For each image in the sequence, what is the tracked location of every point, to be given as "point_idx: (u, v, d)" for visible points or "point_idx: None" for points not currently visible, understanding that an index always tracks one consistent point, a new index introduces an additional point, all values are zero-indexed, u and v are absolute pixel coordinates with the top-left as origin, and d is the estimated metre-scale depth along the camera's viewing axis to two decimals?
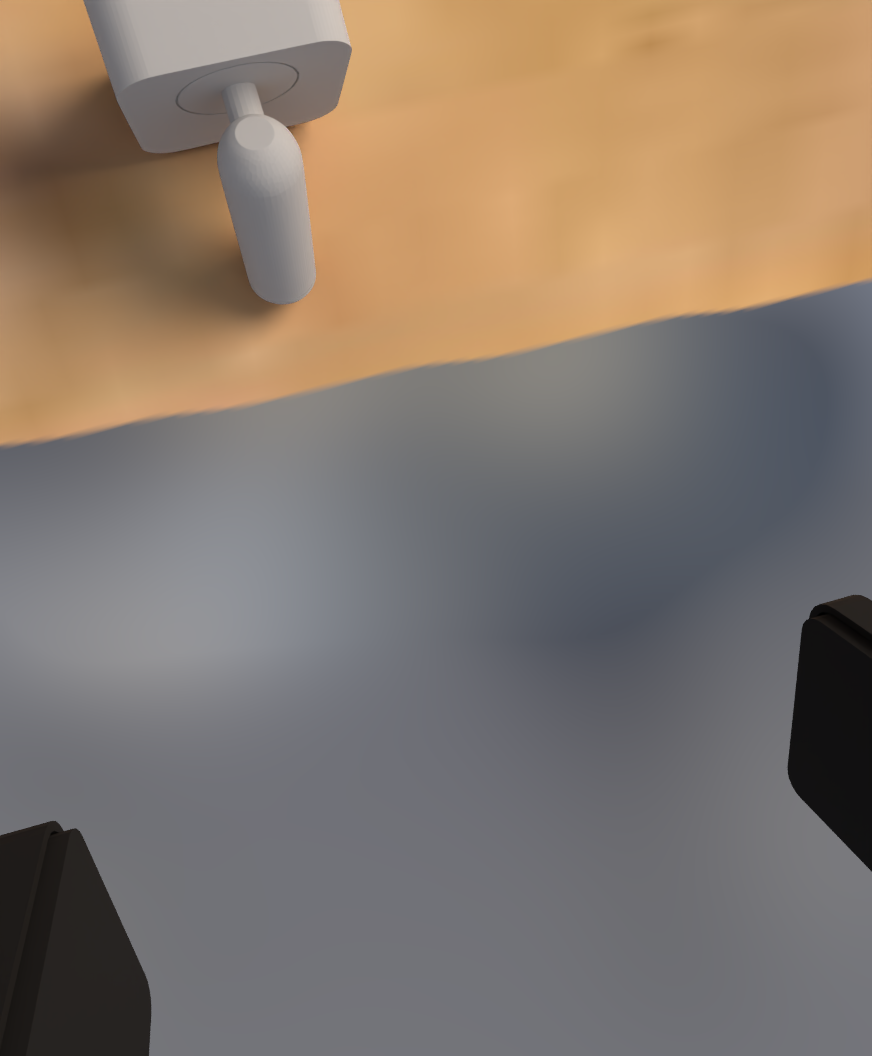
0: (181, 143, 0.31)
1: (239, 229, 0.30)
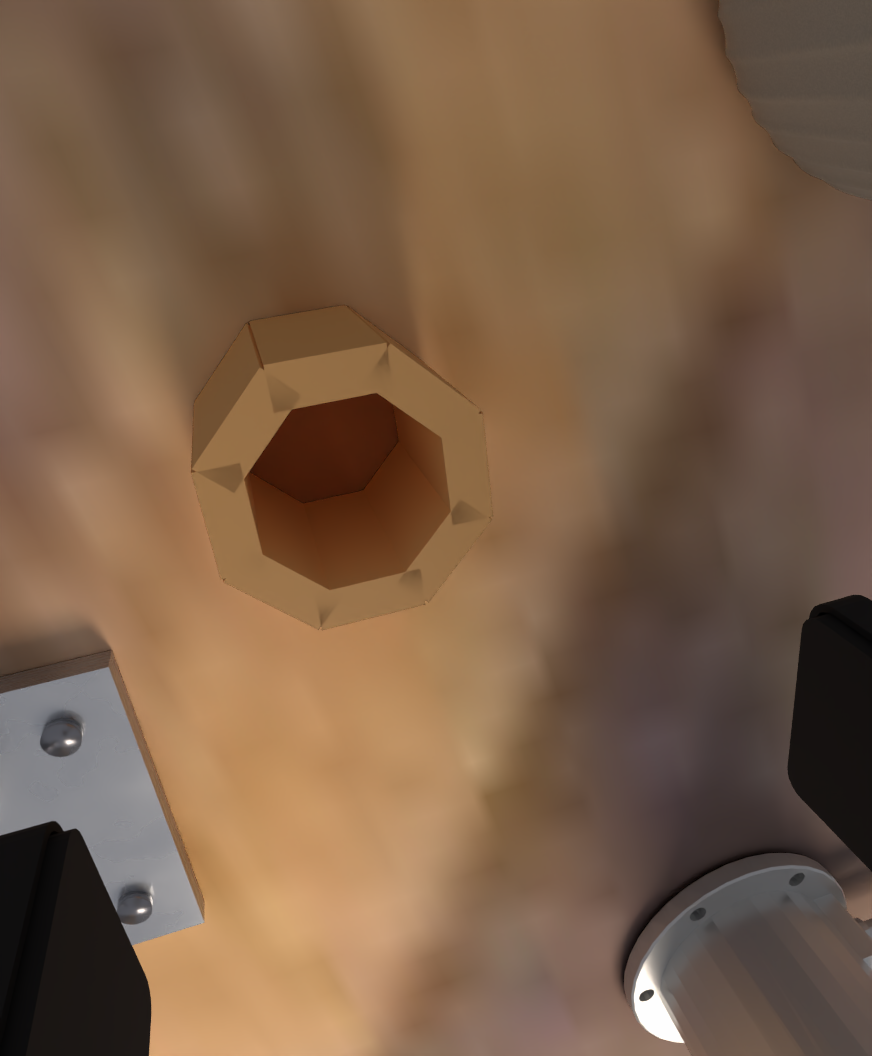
0: None
1: None
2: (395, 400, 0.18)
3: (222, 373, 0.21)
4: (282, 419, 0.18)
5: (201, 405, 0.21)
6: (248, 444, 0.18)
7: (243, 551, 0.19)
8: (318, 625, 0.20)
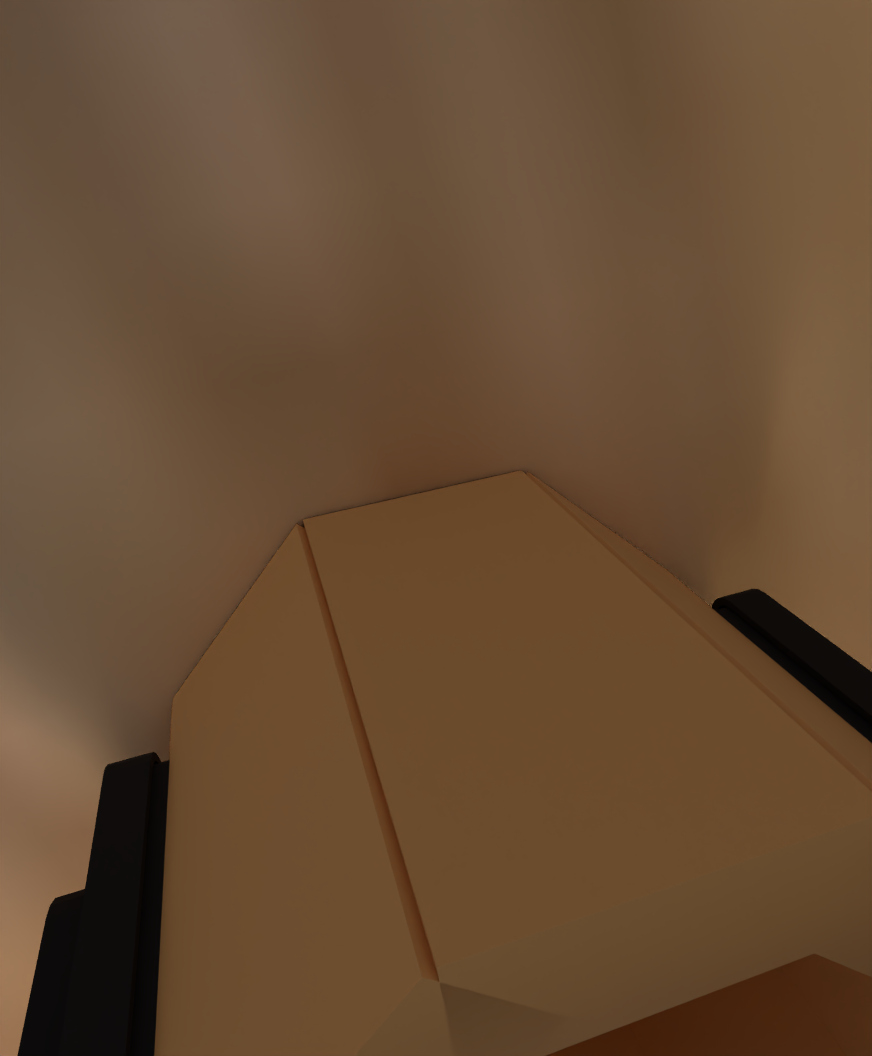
0: None
1: None
2: (863, 957, 0.05)
3: (242, 687, 0.08)
4: None
5: (188, 762, 0.08)
6: None
7: None
8: None
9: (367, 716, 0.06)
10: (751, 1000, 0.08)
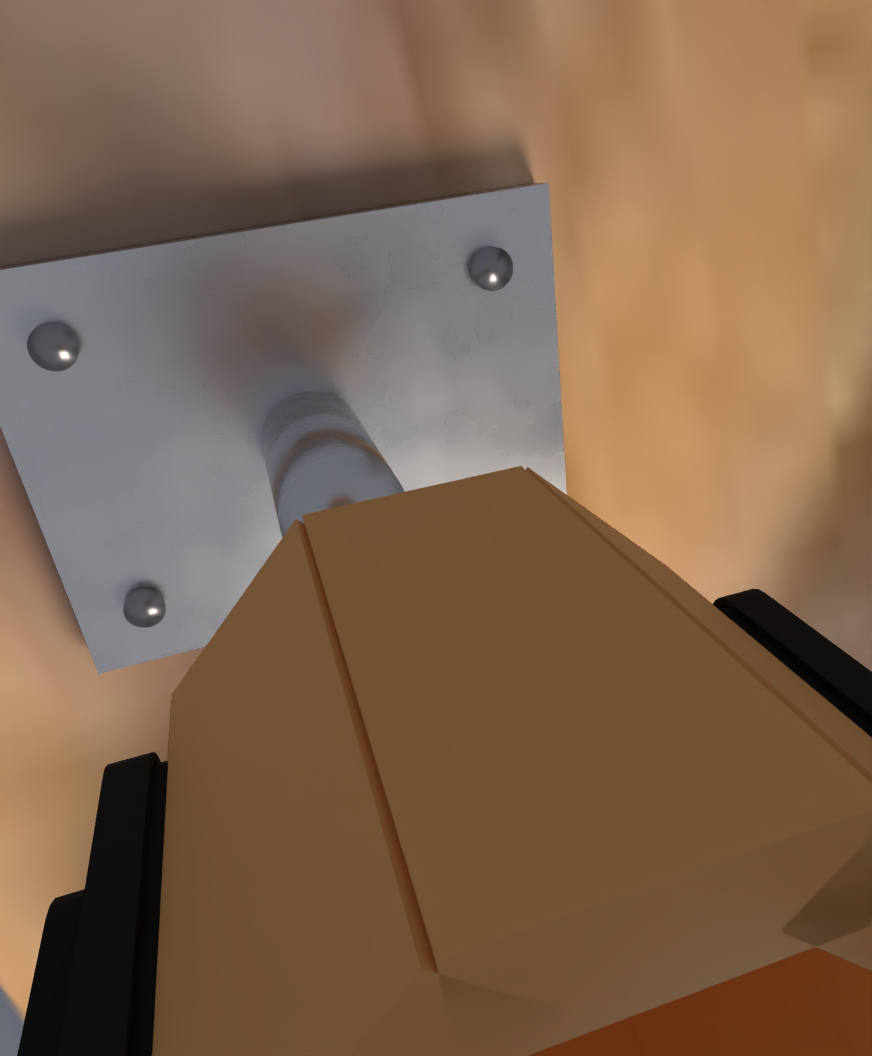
0: None
1: None
2: (864, 951, 0.05)
3: (241, 682, 0.08)
4: None
5: (187, 757, 0.08)
6: None
7: None
8: None
9: (366, 710, 0.06)
10: (751, 996, 0.08)
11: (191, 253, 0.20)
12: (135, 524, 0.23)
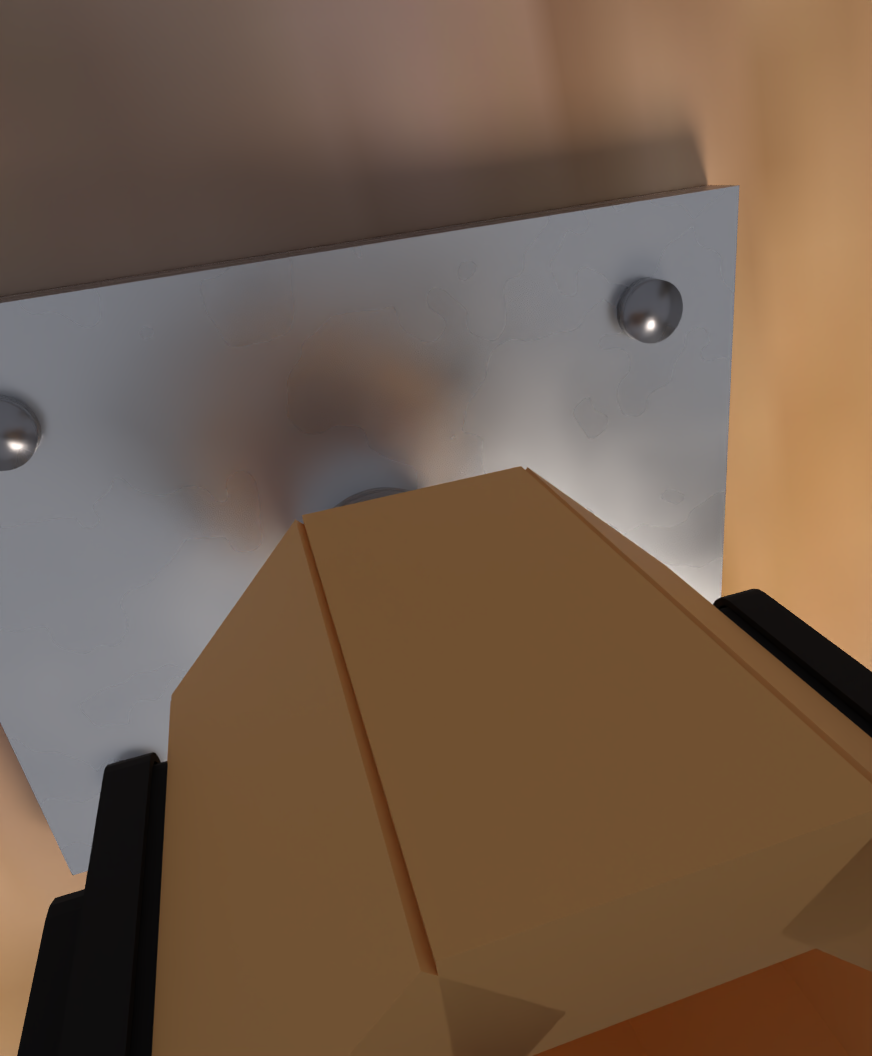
0: None
1: None
2: (865, 953, 0.05)
3: (241, 683, 0.08)
4: None
5: (186, 758, 0.08)
6: None
7: None
8: None
9: (366, 711, 0.06)
10: (752, 997, 0.08)
11: (212, 290, 0.13)
12: (125, 678, 0.16)
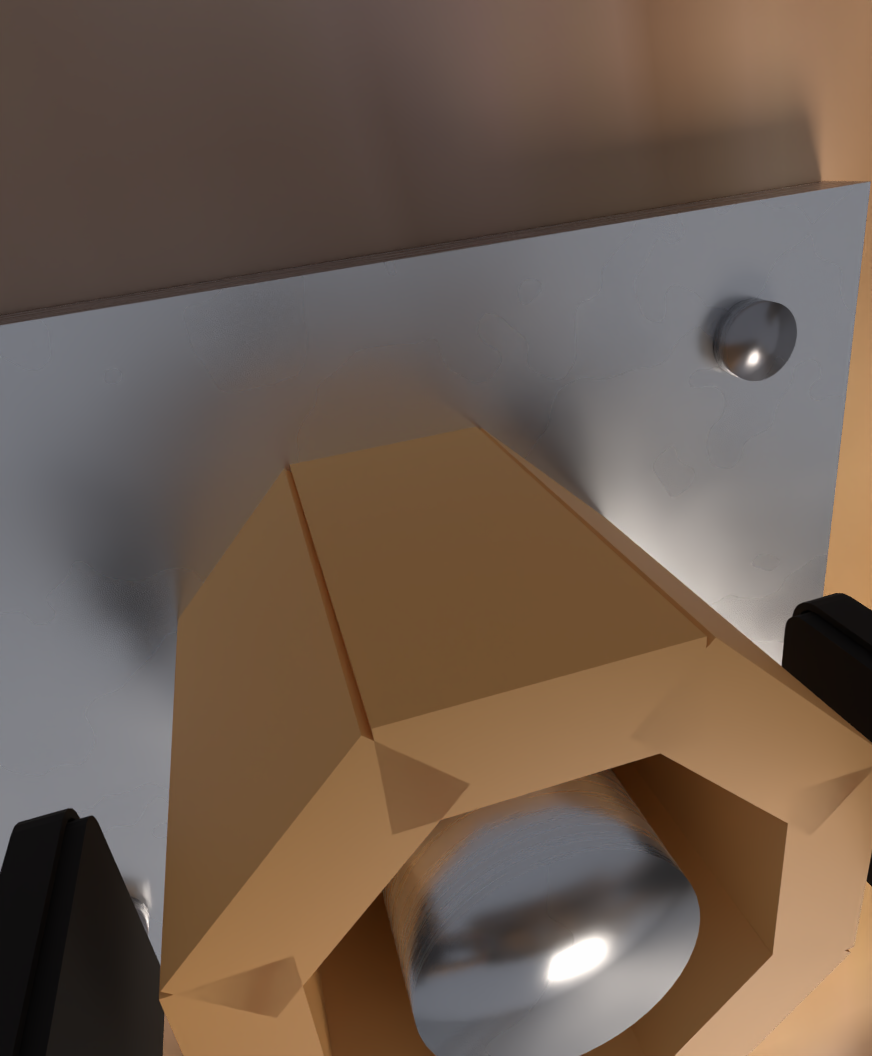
0: None
1: None
2: (701, 762, 0.07)
3: (237, 595, 0.10)
4: (413, 843, 0.06)
5: (192, 659, 0.10)
6: (319, 913, 0.06)
7: None
8: None
9: (334, 593, 0.08)
10: None
11: (199, 319, 0.10)
12: (92, 802, 0.12)
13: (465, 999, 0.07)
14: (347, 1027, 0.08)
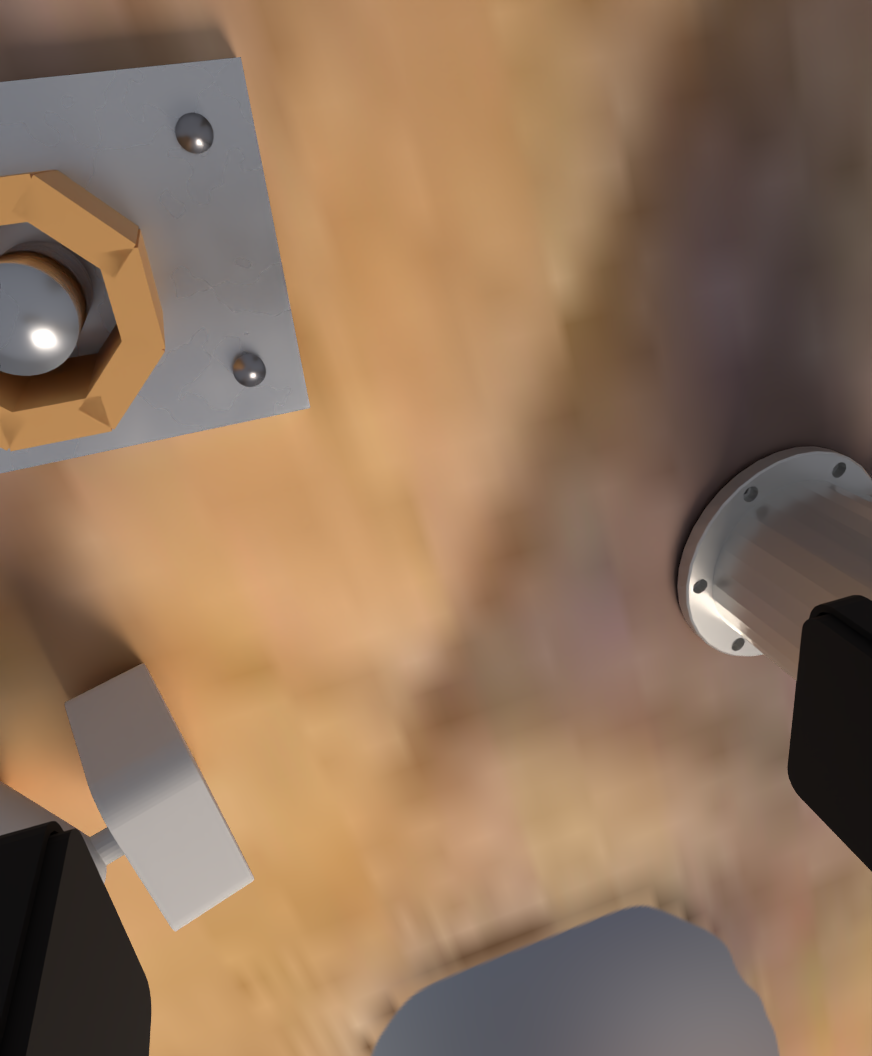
0: None
1: None
2: (47, 230, 0.20)
3: None
4: None
5: None
6: None
7: None
8: (6, 446, 0.22)
9: None
10: (115, 342, 0.24)
11: None
12: None
13: None
14: None
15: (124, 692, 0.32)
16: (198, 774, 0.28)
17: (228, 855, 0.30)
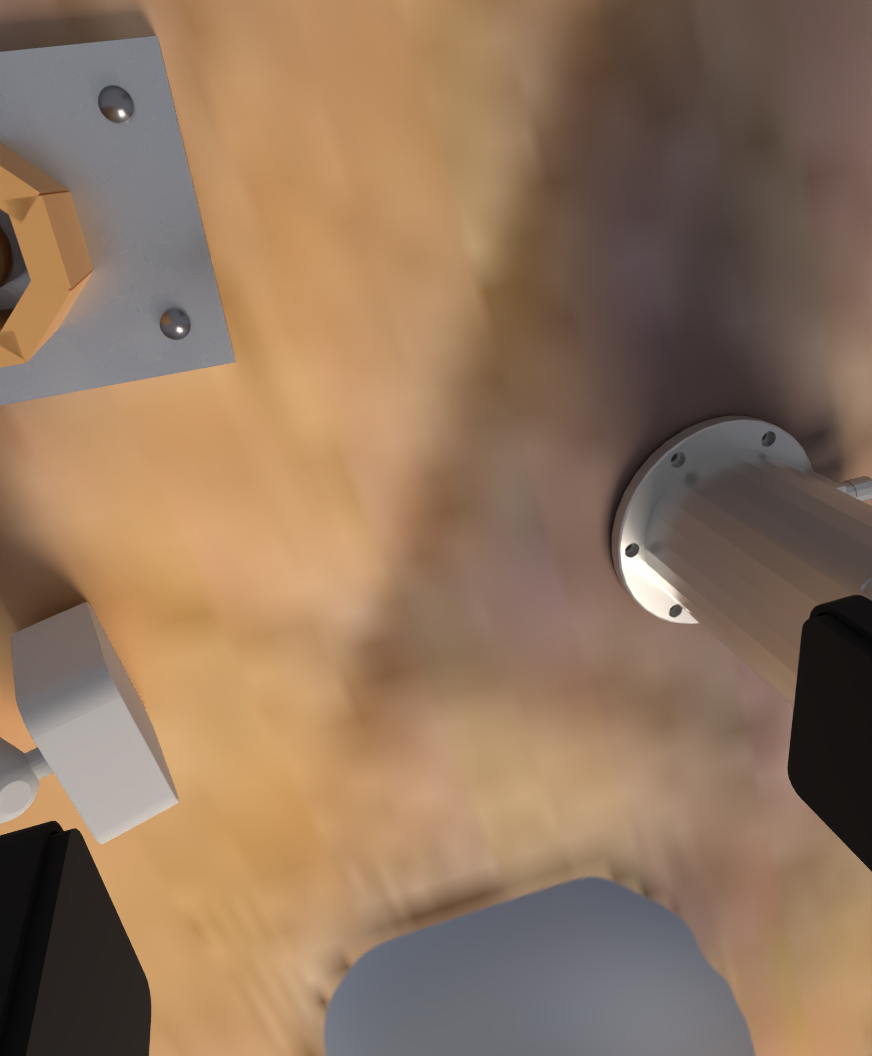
0: None
1: None
2: None
3: None
4: None
5: None
6: None
7: None
8: None
9: None
10: None
11: None
12: None
13: None
14: None
15: (64, 624, 0.34)
16: (117, 692, 0.31)
17: (150, 774, 0.32)
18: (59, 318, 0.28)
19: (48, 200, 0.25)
